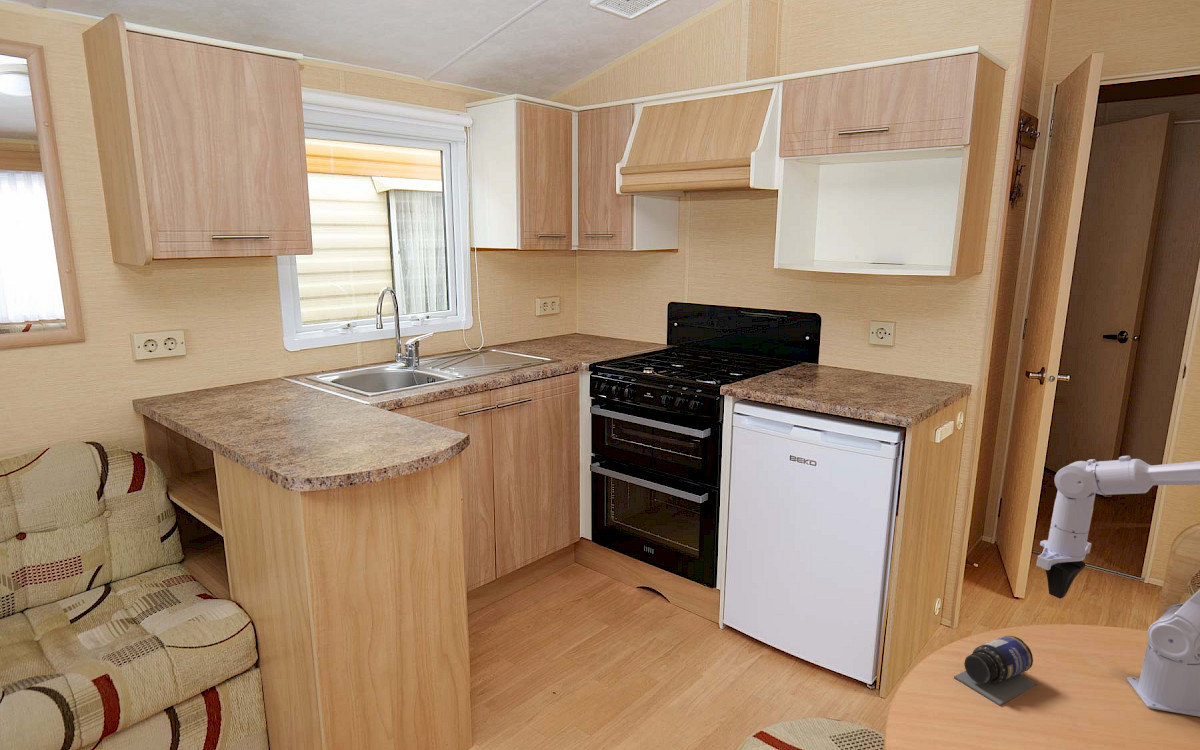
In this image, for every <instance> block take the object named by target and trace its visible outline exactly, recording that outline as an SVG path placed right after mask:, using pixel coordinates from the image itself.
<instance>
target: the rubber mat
mask: <svg viewBox="0 0 1200 750" xmlns="http://www.w3.org/2000/svg"><path fill="white" fill-rule="evenodd" d="M953 679H954V680H957V681H958V682H960V683H962V684H964V686H967V687H968V688H969V689H972V690H973V691H975V692H976V693H978V694H980V695H981V696H983V697H984V698H986V699H988V700H989V701H991V702H993V703H995V704H996V705H998V706H999V707H1000V706H1002V705H1004V704H1006V703H1008V702H1009V701H1011V700H1013V699H1014V698H1016V697H1018V696H1020V695H1021V694H1023V693H1025V692H1027V691H1029V690H1030V689H1032V688H1034V687H1035V686H1037V685H1038V683H1037V682H1035V681H1034V680H1032V679H1029V678H1028V677H1026V676H1025V675H1023V674H1022V673H1021V674H1019V675H1016V676H1014V677H1012V678H1009V679H1007V680H1005V681H1002V682H1000V683H990V682H988V683H985V684H980V683H977V682H975V681H974V680H972V679H971V678H970V676H969V675H968V674H967V672H966V670H964V671H962V672H960V673H958V674H956V675H954V676H953Z"/></svg>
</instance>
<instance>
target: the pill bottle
mask: <svg viewBox="0 0 1200 750" xmlns="http://www.w3.org/2000/svg"><path fill="white" fill-rule="evenodd" d="M963 664H964V670H965V671H966V672H967V674H968V675H969V676H970V678H971V679H972V680H974V681H975V682H977V683H980V684H985V683H988V682H990V683H1000V682H1002V681H1005V680H1007V679H1009V678H1012V677H1014V676H1016V675H1019V674H1021V675H1022V674H1023V673H1025V672H1028V670H1030V669H1031V668H1032V666H1033V665H1034V656H1033V653H1032V651H1031V648H1030V647H1029V646H1028V645H1027V643H1025V642H1024V641H1023V640H1022V639H1020V638H1019V637H1017V636H1014V635H1005V636H1002V637H999V638H996V639H994V640H992V641H990V642H989V641H988V642H987V643H984V644H981V645H979V646H977V647H975V648H974V649H973V651H972V653H971V654H969V655H967V656H966V657H965V660H964V663H963Z"/></svg>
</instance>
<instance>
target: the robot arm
mask: <svg viewBox="0 0 1200 750" xmlns="http://www.w3.org/2000/svg"><path fill="white" fill-rule="evenodd" d="M1053 482H1054V485H1055V487H1056V490H1057V492H1056V496H1055V499H1054V505H1053V511H1052V516H1051V521H1050V527H1049V531H1048V537H1047V539H1044V540H1041V541H1039V542H1040V543H1039V545H1040V546H1041V547H1043V550H1042V553H1040V554H1039V555H1037V559H1036V567H1039V568H1041V569H1043V570H1044V571H1045V574H1046V580H1047V586H1048V587H1047V588H1048V594H1049V595H1051V596H1054V597H1056V598H1058V599H1059V600H1061V599H1063V598H1064V597H1066V595H1067V594H1068V591H1069V589H1070V588H1071V586H1072V584H1073V582H1074V580H1075V578H1076V577H1077V576H1078V575H1079V574H1080V572H1081V571H1082V570H1084V569H1085V567H1086V563H1085V562H1084V560H1085V559H1086V555H1087V554H1090V553H1091V548H1092V543H1091V542H1088V538H1089V532H1090V529H1091V527H1090V526H1091V522H1092V519H1093V518H1092V517H1093V513H1094V512H1093V511H1094V505H1095V498H1096V494H1097V495H1101V496H1102V495H1103V496H1107V495H1130V494H1131V495H1132V494H1134V495H1135V494H1136V495H1138V494H1146V493H1148V492H1149V491H1150V489H1152V487H1153V486H1189V485H1190V486H1192V485H1193V486H1197V485H1198V486H1200V460H1194V461H1184V462H1175V463H1166V464H1165V463H1164V464H1154V465H1151V464H1149V463H1147V462H1146V461H1143V460H1142V459H1140V458H1132V457H1131V455H1122V456H1119V457H1118V459H1116V460H1115V459H1113V460H1100V461H1097V460H1096V459H1095V458H1093V459H1092V458H1091V459H1088V460H1086V461H1084V460H1078V461H1074V462H1071V463H1069V464H1068V465H1066V466H1063V467H1062V468H1060V469H1059V470H1058V471H1057V472H1056V474H1055V475H1054V481H1053ZM1147 638H1148V639H1147V644H1146V648H1145V649H1146V650H1145V652H1144V658H1143V661H1142V666H1141V671H1140V675H1139V677H1135V676H1127V677H1126V680H1127V681H1128V683H1129V684H1130V685H1131V687H1132V688H1133V689H1134V691H1135V692H1136V694H1137V695H1138V696H1139V698H1140V699H1141V700H1142V701H1143V702H1144V704H1145V706H1147V708H1149V709H1153V710H1160V711H1165V712H1169V713H1170V712H1171V713H1175V714H1182V715H1187V716H1193V717H1199V718H1200V588H1199V589H1198V590H1197V591H1195V593H1194V594H1192V595H1190V597H1189V598H1188V599H1187V600H1186V601H1184V602H1182V603H1177V604H1172V605H1170V606H1168V607H1167V609H1165V611H1164V613H1163V614H1162V615H1161V616H1160V617H1159V618H1158V619H1157V620H1155V621H1154V622H1153V623H1151V624H1150V626H1149V628H1148V630H1147Z"/></svg>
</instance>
